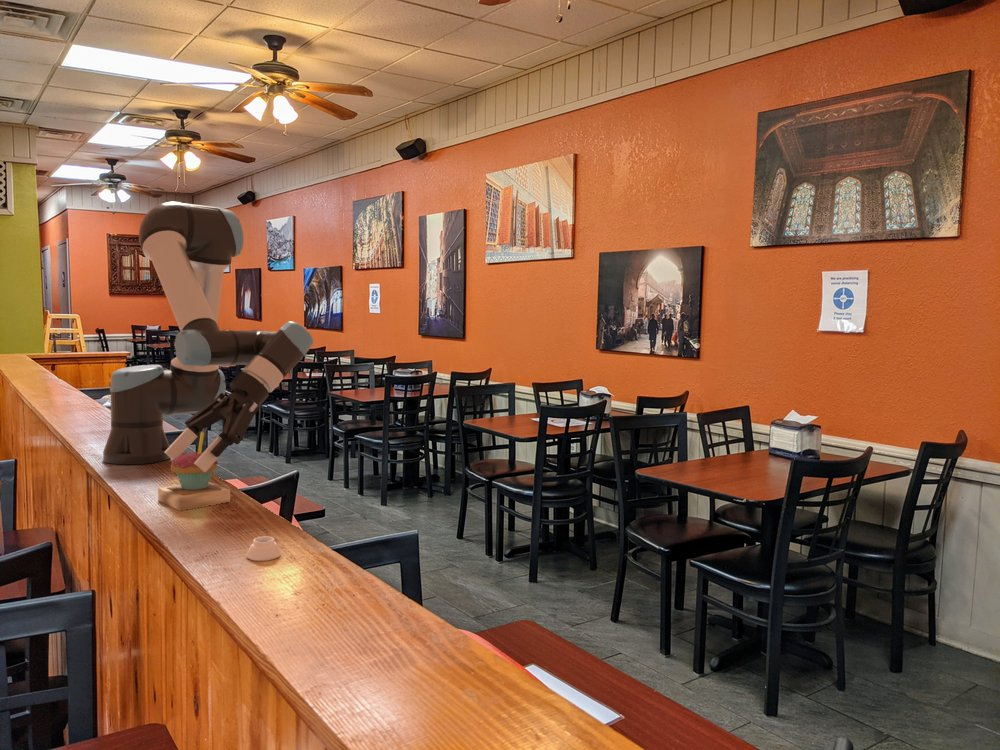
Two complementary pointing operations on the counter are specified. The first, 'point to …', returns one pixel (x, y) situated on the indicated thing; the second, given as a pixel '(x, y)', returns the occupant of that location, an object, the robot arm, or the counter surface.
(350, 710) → the counter surface
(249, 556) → the lidless jar
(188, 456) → the cupcake
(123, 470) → the counter surface
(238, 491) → the counter surface
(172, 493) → the square tray
